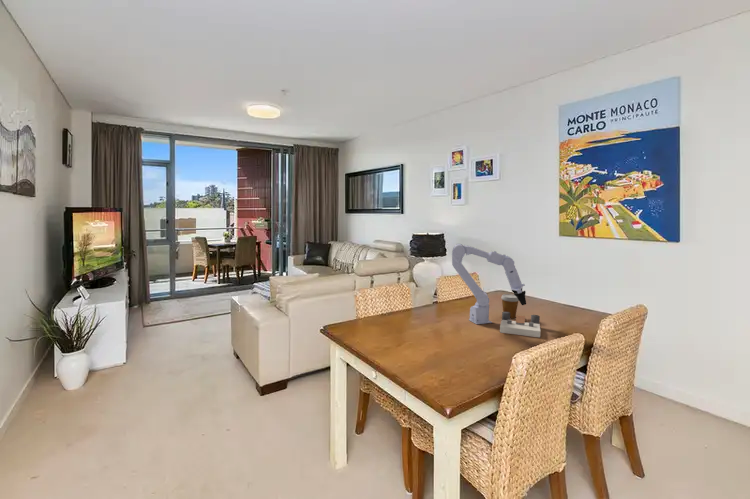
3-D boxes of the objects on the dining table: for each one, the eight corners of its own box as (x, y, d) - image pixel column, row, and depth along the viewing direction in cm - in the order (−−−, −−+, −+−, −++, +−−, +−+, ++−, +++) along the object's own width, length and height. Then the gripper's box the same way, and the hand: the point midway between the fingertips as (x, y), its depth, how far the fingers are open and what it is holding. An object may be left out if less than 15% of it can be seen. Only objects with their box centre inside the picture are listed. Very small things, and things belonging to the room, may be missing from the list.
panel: (540, 337, 173) (540, 328, 173) (499, 332, 180) (500, 323, 179) (539, 329, 184) (539, 320, 184) (501, 325, 191) (501, 316, 190)
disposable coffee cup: (521, 319, 201) (522, 298, 200) (503, 319, 201) (504, 297, 200) (514, 314, 210) (515, 294, 209) (498, 314, 211) (499, 293, 209)
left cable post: (505, 325, 191) (505, 314, 190) (500, 323, 195) (500, 312, 194) (511, 324, 192) (512, 313, 191) (506, 322, 196) (507, 311, 195)
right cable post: (534, 328, 186) (535, 317, 185) (528, 326, 189) (529, 315, 189) (540, 328, 187) (541, 316, 186) (535, 325, 191) (535, 314, 190)
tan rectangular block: (524, 324, 181) (524, 316, 183) (515, 323, 183) (516, 315, 184) (524, 325, 182) (524, 316, 184) (515, 324, 184) (516, 315, 185)
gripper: (523, 278, 183) (533, 304, 183) (519, 273, 197) (528, 297, 197) (509, 283, 185) (519, 308, 185) (506, 277, 199) (514, 301, 199)
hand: (522, 302), depth 191 cm, fingers open, 7 cm apart
